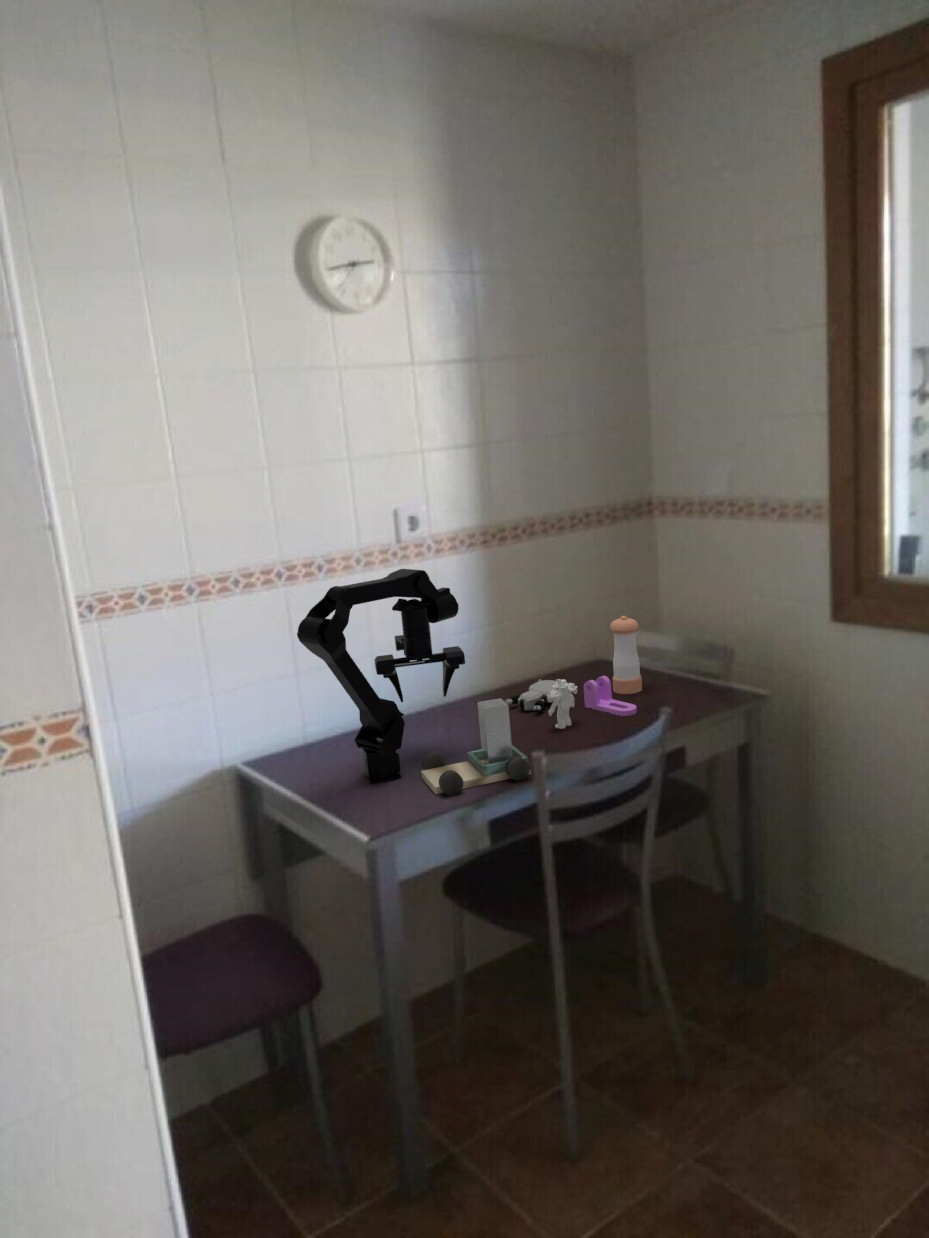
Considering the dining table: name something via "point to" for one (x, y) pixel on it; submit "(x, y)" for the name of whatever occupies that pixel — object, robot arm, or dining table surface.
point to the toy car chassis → (471, 771)
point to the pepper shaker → (626, 657)
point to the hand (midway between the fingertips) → (423, 699)
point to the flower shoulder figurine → (562, 702)
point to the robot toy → (534, 696)
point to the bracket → (605, 698)
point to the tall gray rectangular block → (495, 731)
